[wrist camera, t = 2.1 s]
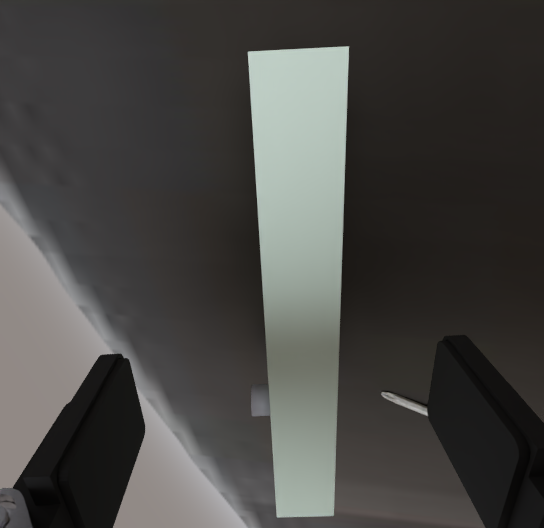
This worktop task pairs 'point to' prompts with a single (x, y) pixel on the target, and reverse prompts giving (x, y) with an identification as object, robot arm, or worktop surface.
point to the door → (300, 263)
